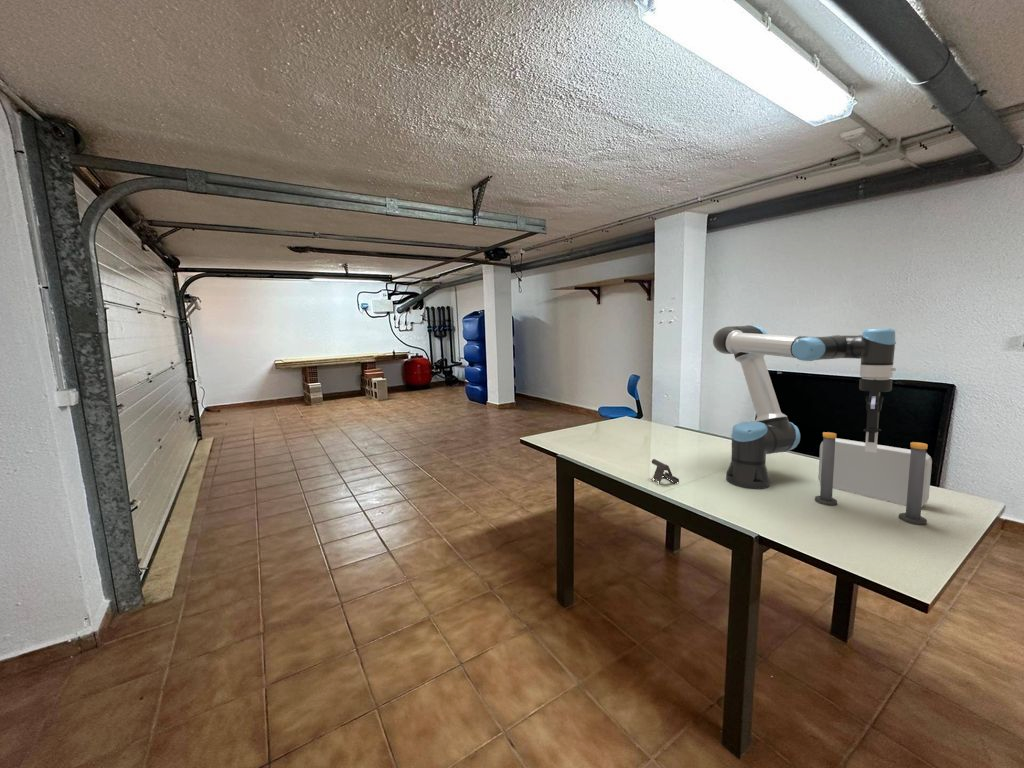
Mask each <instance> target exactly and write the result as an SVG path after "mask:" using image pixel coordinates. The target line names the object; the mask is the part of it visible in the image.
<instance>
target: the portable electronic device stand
mask: <svg viewBox="0 0 1024 768" xmlns="http://www.w3.org/2000/svg"><path fill="white" fill-rule="evenodd" d="M651 464H652V465H654V466H656V469H655V472H654V474H653V476H652V479H653V478H654V479H655V481H656V482H657V481H659V482H660V483H661V481H662V479H663V478H664V477H666V478H668V479H670V480H672V481H673V482H674V483H673V482H672V483H673V484H675V483H677V482H679V483H680V480H679V478H678V477H676V476H674V475H673V473H672V472H671V469H670V466H669V465H667V464H666V463H663V462H661V461H659V460H657V459H655V458H653V459H652V460H651ZM662 476H664V477H662ZM666 478H665V479H666ZM668 479H667V480H668ZM670 480H669V481H670Z"/></svg>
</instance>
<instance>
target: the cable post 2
mask: <svg viewBox="0 0 1024 768" xmlns="http://www.w3.org/2000/svg"><path fill="white" fill-rule="evenodd" d="M928 446H929V445H928V444H927V443H924V442H919V441H918V442H917V441H916V442H915V441H912V442H910V446H909V447H910V450H911V455H910V467H909V479H908V491H907V503H906V506H905V512H902V513H901V512H900V513H899V514H898V519H899V520H900V521H903V522H905V523H908V524H912V525H916V526H925V525H927V524H928V520H927V518H926V517H923V516H922V507H923V506H922V494H923V483H924V471H925V460H926V453H927V450H928Z"/></svg>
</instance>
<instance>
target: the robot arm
mask: <svg viewBox="0 0 1024 768" xmlns="http://www.w3.org/2000/svg"><path fill="white" fill-rule="evenodd" d="M896 343H897V342H896V331H895V329H893V328H887V327H886V328H865V329H864V330H863V331H862V334H861V335H839V334H837V335H827V336H802V335H783V334H769V333H768V332H767V331H766V330H765V329H764V328H762V327H760V326H757V325H736V326H734V325H733V326H724V327H722V328H720V329H719V330H717V331H716V332H715V333H714V335H713V338H712V345H713V346H714V349H716V351H717V352H719V353H720V354H725V355H733V357H734V359H735V361H736V362H738V363H740V365H741V368H742V372H743V375H744V378H745V379H744V380H745V382H746V385H747V388H748V392H749V395H750V398H751V402H752V405H753V408H754V412H755V415H756V418H755V420H754V421H752V420H751V421H741V422H738V423H735V424H734V425H733V427H732V430H731V460H730V464H729V466H728V467H727V468H728V469H727V471H726V472H725V480H726V482H728V483H730V484H731V485H734V486H738V487H740V488H741V487H742V488H746V489H747V488H748V489H765V488H769V487H770V486H771V477H770V474H769V471H768V468H767V465H766V464H767V463H766V462H767V455H771V454H777V453H778V454H779V453H785V452H786V453H787V452H788V451H792V450H794V449H795V448H797V447H798V445H799V444H800V441H801V432H800V429H799V427H798V426H797V425H795V424H794V423H793V422H791V421H789V418H788V415H786V414H785V413H783V412H782V411H781V408H780V404H779V401H778V398H777V395H776V392H775V389H774V386H773V383H772V379H771V376H770V373H769V370H768V368H767V364H766V360H765V356H772V357H773V356H775V357H783V358H792V359H797V360H799V361H803V362H812V361H820V360H834V359H836V360H837V359H860V368H859V377H861V378H860V379H859V385H858V389H859V390H860V391H862V392H869V393H868V394H869V395H866V396H865V403H866V404H865V405H866V406H865V409H866V428H864V429H863V432H865V442H864V443H865V451H867V452H875V453H876V452H877V445H878V436H879V432H881V431H882V429H881V428H879V427H880V426H879V422H880V421H879V420H880V412H881V411H882V405H883V403H884V402H883V401H884V396H881V393H888V392H891V391H892V390H893V379H891V378H893V374H894V372H896V370H897V369H896V367H894V359H895V348H896Z"/></svg>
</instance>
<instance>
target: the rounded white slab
mask: <svg viewBox="0 0 1024 768" xmlns="http://www.w3.org/2000/svg"><path fill="white" fill-rule="evenodd" d="M822 453H823V441H821V443H820V445H819V456H818V457H819V459H818V461H819V462H818V477H817V478H818V482H819V483H820V484H821V471H822ZM910 455H911V449H908V448H901V447H896V446H895V447H894V446H889V445H882V444H877V452H876V453H875V452H867V451H865V442H864V441H857V440H850V439H844V438H837V437H836V438H835V455H834V473H833V489H834V490H839V491H842V492H843V491H844V492H848V493H852V494H856V495H861V496H864V497H868V498H872V499H877V500H881V501H884V502H885V501H886V502H889V503H893V504H897V505H902V506H905V507H906V503H907V491H908V479H909V467H910ZM932 464H933V459H932V457H931V456H930V455H929V454H928V452H926V460H925V471H924V483H923V494H922V506H921V507H924V506H925V504H927V502H928V500H929V498H930V486H931V478H932V477H931V475H932Z"/></svg>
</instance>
